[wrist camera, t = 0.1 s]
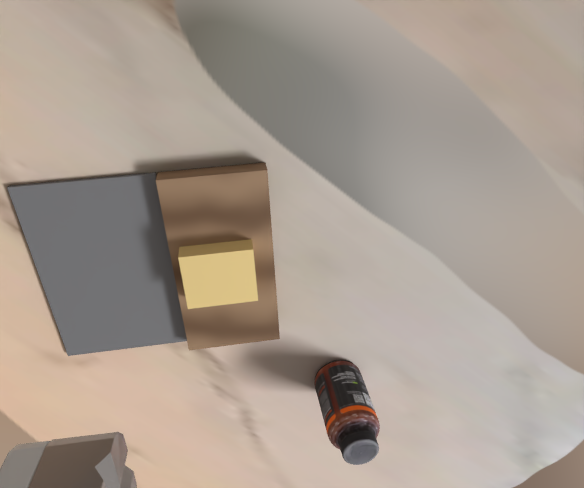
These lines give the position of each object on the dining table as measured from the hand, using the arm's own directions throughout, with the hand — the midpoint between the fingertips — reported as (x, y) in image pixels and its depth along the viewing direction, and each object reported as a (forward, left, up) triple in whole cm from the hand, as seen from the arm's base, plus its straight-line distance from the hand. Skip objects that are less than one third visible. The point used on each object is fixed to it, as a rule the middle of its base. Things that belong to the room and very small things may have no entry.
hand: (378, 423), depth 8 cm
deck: (+20, -4, -39) cm, 44 cm away
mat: (+20, -16, -39) cm, 46 cm away
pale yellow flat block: (+20, -4, -37) cm, 42 cm away
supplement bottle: (+39, +8, -39) cm, 56 cm away
